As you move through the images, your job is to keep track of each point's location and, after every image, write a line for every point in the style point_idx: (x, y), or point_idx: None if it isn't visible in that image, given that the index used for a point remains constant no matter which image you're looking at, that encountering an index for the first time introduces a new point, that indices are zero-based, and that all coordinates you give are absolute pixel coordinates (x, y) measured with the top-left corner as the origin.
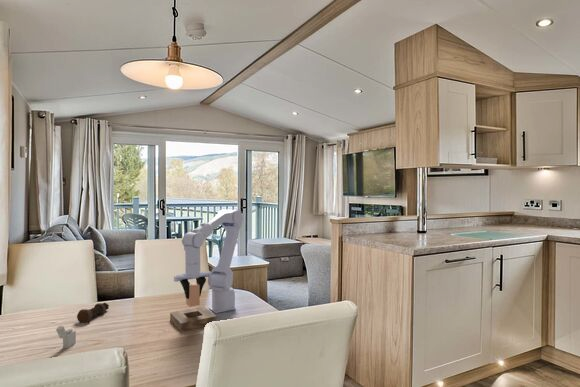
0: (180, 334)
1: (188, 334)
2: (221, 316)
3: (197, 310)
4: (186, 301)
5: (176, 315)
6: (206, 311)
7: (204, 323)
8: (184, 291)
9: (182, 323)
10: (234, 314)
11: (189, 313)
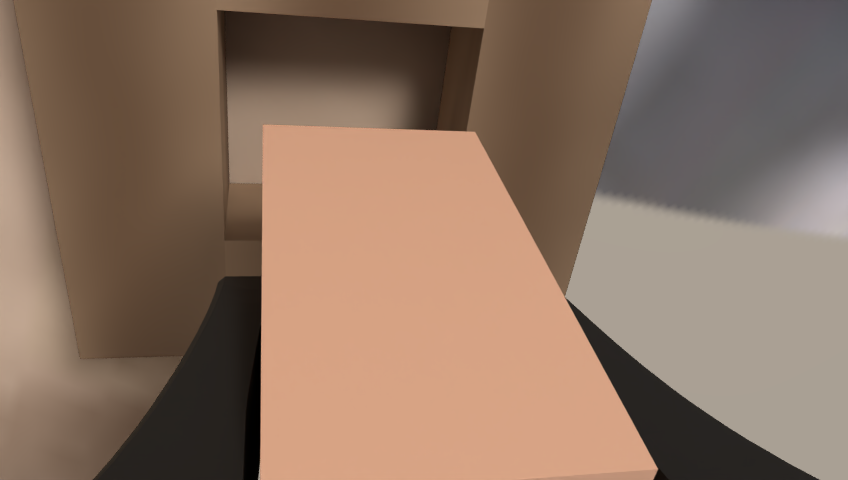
0: (75, 351)
1: (157, 383)
2: (707, 121)
3: (489, 5)
4: (263, 163)
5: (76, 28)
6: (563, 136)
7: None
8: (176, 381)
9: (100, 353)
10: (842, 149)
11: (333, 13)
